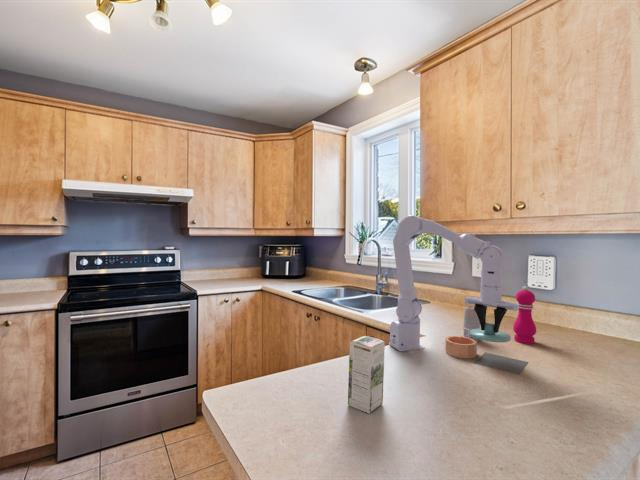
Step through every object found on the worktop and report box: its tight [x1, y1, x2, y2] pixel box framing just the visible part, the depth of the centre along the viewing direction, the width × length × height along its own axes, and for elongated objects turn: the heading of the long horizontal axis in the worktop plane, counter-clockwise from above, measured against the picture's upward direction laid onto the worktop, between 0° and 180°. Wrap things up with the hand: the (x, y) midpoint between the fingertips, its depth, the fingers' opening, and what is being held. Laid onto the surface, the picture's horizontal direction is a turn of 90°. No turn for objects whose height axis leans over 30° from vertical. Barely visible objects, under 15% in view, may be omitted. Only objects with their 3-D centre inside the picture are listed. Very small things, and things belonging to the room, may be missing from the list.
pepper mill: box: [512, 285, 537, 345], centre depth 123 cm, size 7×7×20 cm
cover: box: [470, 322, 512, 343], centre depth 103 cm, size 11×11×4 cm
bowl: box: [444, 335, 478, 359], centre depth 108 cm, size 9×9×4 cm
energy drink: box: [462, 305, 481, 342], centre depth 123 cm, size 5×5×12 cm
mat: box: [472, 351, 529, 375], centre depth 101 cm, size 12×12×1 cm
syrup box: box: [347, 335, 386, 414], centre depth 75 cm, size 6×6×14 cm
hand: (489, 330), depth 103 cm, fingers closed on cover, 3 cm apart
